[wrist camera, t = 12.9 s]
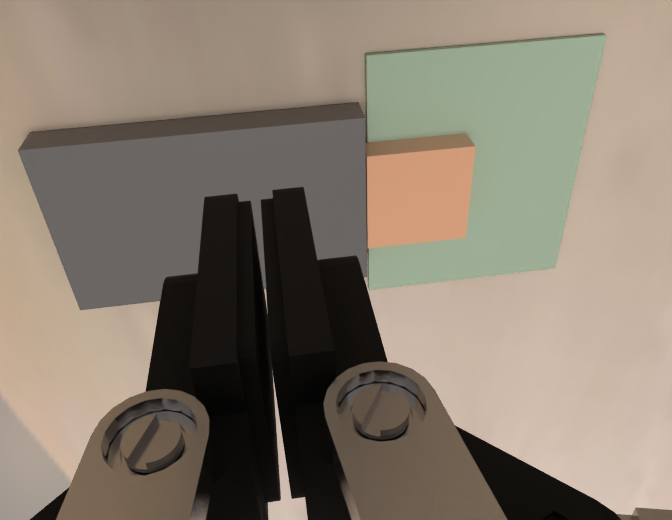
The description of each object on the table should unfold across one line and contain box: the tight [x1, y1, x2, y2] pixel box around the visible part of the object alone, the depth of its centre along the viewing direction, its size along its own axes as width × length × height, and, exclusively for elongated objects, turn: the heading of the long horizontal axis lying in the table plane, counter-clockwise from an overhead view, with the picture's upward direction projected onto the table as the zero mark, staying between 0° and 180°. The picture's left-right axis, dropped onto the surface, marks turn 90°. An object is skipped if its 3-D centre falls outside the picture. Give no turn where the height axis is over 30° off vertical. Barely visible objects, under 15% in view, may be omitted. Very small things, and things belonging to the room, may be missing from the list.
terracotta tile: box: [365, 133, 476, 248], centre depth 40 cm, size 7×7×2 cm
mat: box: [365, 34, 606, 290], centre depth 42 cm, size 18×15×1 cm
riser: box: [18, 102, 367, 310], centre depth 39 cm, size 12×20×2 cm, turn 93°
